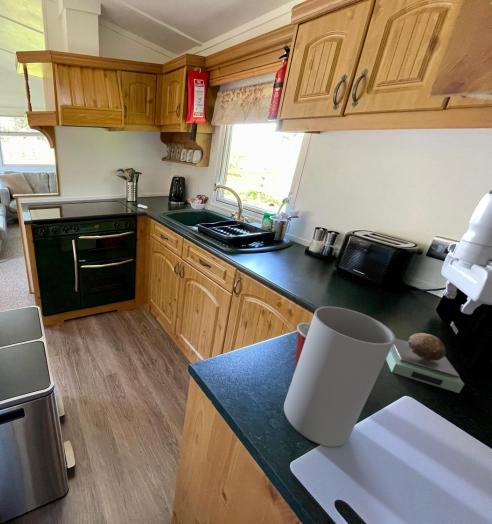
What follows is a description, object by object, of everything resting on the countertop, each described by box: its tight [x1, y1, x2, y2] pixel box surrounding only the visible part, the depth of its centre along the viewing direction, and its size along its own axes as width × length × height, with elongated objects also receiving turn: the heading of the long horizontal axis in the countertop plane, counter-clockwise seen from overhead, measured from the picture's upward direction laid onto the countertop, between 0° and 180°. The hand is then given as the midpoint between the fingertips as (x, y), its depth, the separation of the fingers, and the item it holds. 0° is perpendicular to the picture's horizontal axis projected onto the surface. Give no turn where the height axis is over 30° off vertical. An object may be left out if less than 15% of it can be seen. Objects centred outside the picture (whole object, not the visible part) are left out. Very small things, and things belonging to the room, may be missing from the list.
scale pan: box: [392, 337, 460, 378], centre depth 81 cm, size 12×12×1 cm
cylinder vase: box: [283, 306, 396, 447], centre depth 58 cm, size 12×12×25 cm
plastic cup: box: [295, 322, 311, 368], centre depth 76 cm, size 11×11×12 cm
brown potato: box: [407, 332, 447, 360], centre depth 80 cm, size 8×8×6 cm
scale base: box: [385, 346, 465, 394], centre depth 82 cm, size 14×14×4 cm
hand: (456, 304), depth 75 cm, fingers open, 8 cm apart
